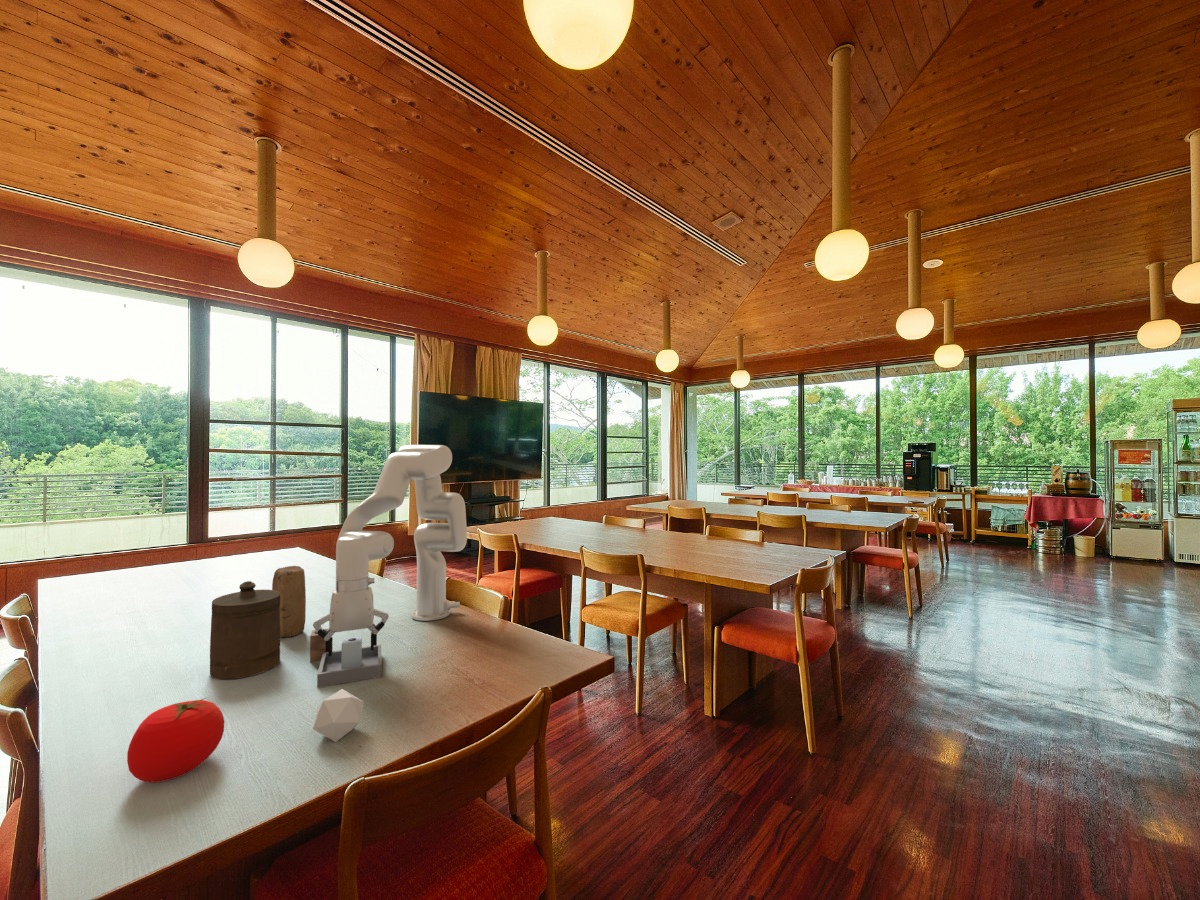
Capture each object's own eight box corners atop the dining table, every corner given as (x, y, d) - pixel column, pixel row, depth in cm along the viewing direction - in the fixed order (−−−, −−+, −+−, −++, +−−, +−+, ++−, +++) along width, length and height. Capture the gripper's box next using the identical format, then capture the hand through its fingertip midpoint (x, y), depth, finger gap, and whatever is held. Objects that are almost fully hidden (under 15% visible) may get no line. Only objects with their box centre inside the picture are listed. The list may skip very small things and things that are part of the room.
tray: (381, 655, 136) (381, 644, 136) (381, 676, 124) (381, 664, 124) (322, 664, 131) (323, 652, 131) (317, 687, 118) (317, 674, 118)
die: (338, 722, 104) (308, 695, 100) (376, 700, 105) (347, 673, 100) (330, 757, 97) (297, 730, 92) (370, 734, 97) (339, 706, 93)
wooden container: (273, 650, 139) (273, 572, 139) (286, 667, 129) (287, 582, 129) (205, 666, 129) (206, 581, 129) (214, 686, 118) (215, 593, 118)
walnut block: (330, 653, 138) (330, 627, 138) (329, 659, 134) (329, 633, 134) (311, 656, 136) (312, 630, 136) (309, 662, 132) (310, 635, 132)
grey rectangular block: (361, 662, 130) (361, 635, 130) (361, 669, 126) (361, 640, 126) (342, 665, 128) (342, 637, 128) (341, 672, 124) (341, 643, 124)
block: (307, 634, 152) (307, 568, 152) (278, 640, 146) (279, 572, 147) (296, 625, 159) (297, 563, 160) (269, 631, 154) (269, 566, 154)
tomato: (107, 784, 83) (108, 716, 83) (198, 740, 96) (199, 681, 96) (152, 804, 79) (153, 731, 79) (242, 755, 91) (242, 692, 91)
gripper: (388, 577, 134) (388, 641, 134) (315, 584, 127) (314, 651, 127) (389, 584, 127) (388, 651, 127) (311, 592, 120) (311, 662, 120)
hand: (351, 651), depth 127 cm, fingers open, 9 cm apart
